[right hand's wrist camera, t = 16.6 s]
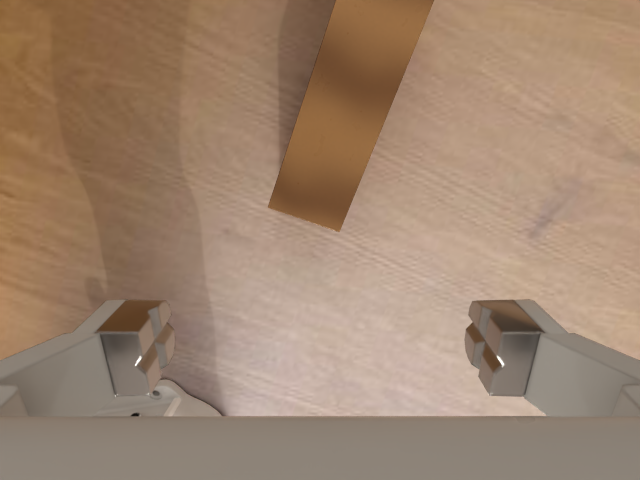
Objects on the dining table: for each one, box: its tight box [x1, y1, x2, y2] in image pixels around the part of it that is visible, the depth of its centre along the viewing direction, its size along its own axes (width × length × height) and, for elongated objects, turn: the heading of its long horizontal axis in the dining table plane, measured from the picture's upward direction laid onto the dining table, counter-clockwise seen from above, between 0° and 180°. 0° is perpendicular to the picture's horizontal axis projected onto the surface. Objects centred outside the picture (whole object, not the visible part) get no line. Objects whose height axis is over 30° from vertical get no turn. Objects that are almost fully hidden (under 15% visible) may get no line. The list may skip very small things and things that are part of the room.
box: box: [268, 0, 434, 232], centre depth 30 cm, size 21×6×9 cm, turn 160°
